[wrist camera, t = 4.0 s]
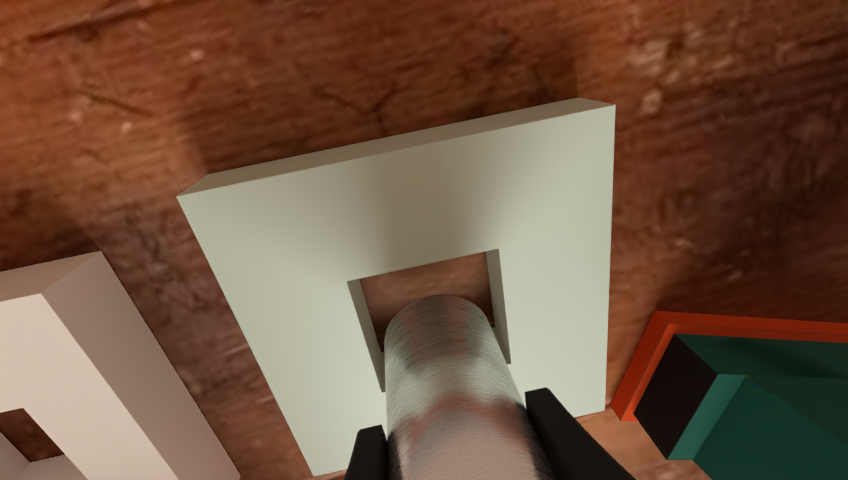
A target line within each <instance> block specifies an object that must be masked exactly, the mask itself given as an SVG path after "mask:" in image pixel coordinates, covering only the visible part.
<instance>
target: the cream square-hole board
mask: <svg viewBox="0 0 848 480" xmlns="http://www.w3.org/2000/svg"><path fill="white" fill-rule="evenodd" d="M19 408H24V410H25V411H26V412H27V413H28V414H29V415H30V416H31V417H32V418H33V419H34V421H35V422H36V423H37V424H38V425H39V426H40V427H41V428H42V429H43V430H44V432H45V433H46V434H47V435H48V436H49V437H50V438H51V439H52V440H53V441H54V443H55V444H56V445H57V446H58V447H59V448H60V449H61V450H62V451H63V452H64V454H65V455H61V456H57V457H52V458H48V459H43V460H39V461H34V462H29V461H28V460H27V459H26V458H25V457H24V456H23V455H22V454H21V453H20V452H19V451H18V450H17V449H16V448H15V447H14V446H13V445H12V444H11V443H10V442H9V441H8V440H7V439H6V437H5V436H4V435H3V434H2V433H1V432H0V480H239V479H240V476H241V475H240V473H239V472H238V470H237V469H236V467H235V465H234V464H233V462H232V461H231V459H230V457H229V456H228V454H227V453H226V451H225V449H224V448H223V446H222V445H221V443H220V441H219V440H218V438H217V436H216V435H215V433H214V432H213V430H212V428H211V427H210V425H209V424H208V422H207V420H206V419H205V417H204V416H203V414H202V412H201V411H200V409H199V408H198V406H197V404H196V403H195V401H194V400H193V398H192V396H191V395H190V393H189V392H188V390H187V388H186V387H185V385H184V383H183V382H182V380H181V379H180V377H179V375H178V374H177V372H176V371H175V369H174V367H173V366H172V364H171V363H170V361H169V359H168V358H167V356H166V355H165V353H164V351H163V350H162V348H161V347H160V345H159V343H158V342H157V340H156V339H155V337H154V335H153V334H152V332H151V330H150V329H149V327H148V326H147V324H146V322H145V321H144V319H143V318H142V316H141V314H140V313H139V311H138V310H137V308H136V306H135V305H134V303H133V302H132V300H131V298H130V297H129V295H128V294H127V292H126V290H125V289H124V287H123V286H122V284H121V282H120V281H119V279H118V278H117V276H116V274H115V273H114V271H113V269H112V268H111V266H110V265H109V263H108V261H107V260H106V258H105V257H104V255H103V253H102V252H101V251H97V252H92V253H87V254H83V255H78V256H73V257H68V258H64V259H59V260H54V261H50V262H45V263H40V264H35V265H31V266H26V267H21V268H16V269H12V270H7V271H2V272H0V413H1V412H6V411H10V410H15V409H19Z"/></svg>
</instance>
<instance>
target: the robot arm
mask: <svg viewBox="0 0 848 480" xmlns="http://www.w3.org/2000/svg"><path fill="white" fill-rule="evenodd" d="M525 402H526V410H527V412H528V415H529V417H530V419H531V422H532V424H533V426H534V429H535V431H536V433H537V436H538V438H539V440H540V443H541V445H542V447H543V450H544V452H545V454H546V457H547V459H548V461H549V464H550V466H551V468H552V471H553V473H554V475H555V478H556V480H636V479H635V478H634V477H633V476H632V475H631V474H630V473H628V472H627V471H626V470H625V469H624V468H623V467H622V466H621V465H620V464H619V463H618V462H617V461H616V460H615V459H614V458H613V457H612V456H611V455H610V454H609V453H608V452H607V451H606V450H605V449H604V448H603V447H602V446H601V445H600V444H599V443H598V442H597V441H596V440H595V439H594V438H593V437H592V436H591V435H590V434H589V433H588V432H587V431H586V430H585V429H584V428H583V427H582V426H581V425H580V424H579V423H578V422H577V420H576V419H575V418H574V417H573V416H572V415H571V414H570V413H569V412H568V411H567V409H566V408H565V407H564V406H563V405H562V404H561V402H560V401H559V400H558V399H557V398H556V397H555V395H554V394H553V393H552V392H551V390H550V389H548V388H546V387H545V388H540V389H536V390H531V391H527V392H525ZM344 480H389V476H388V445H387V439H386V436H385V433H384V430H383V427H382V424H381V425H377V426H372V427H368V428H363V429H360V430H359V431H358V433H357V436H356V440H355V444H354V448H353V452H352V455H351V459H350V462H349V465H348V469H347V472H346V475H345V478H344Z"/></svg>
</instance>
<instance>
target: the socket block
mask: <svg viewBox="0 0 848 480" xmlns="http://www.w3.org/2000/svg"><path fill="white" fill-rule="evenodd" d="M614 134H615V105H614V104H609V103H604V102H599V101H594V100H589V99H584V98H579V97H578V98H573V99H568V100H563V101H558V102H553V103H549V104H544V105H539V106H534V107H529V108H525V109H520V110H515V111H510V112H505V113H501V114H496V115H491V116H486V117H481V118H476V119H472V120H467V121H462V122H457V123H452V124H448V125H443V126H438V127H433V128H428V129H423V130H419V131H414V132H409V133H404V134H399V135H395V136H390V137H385V138H380V139H375V140H371V141H366V142H361V143H356V144H351V145H346V146H342V147H337V148H332V149H327V150H322V151H318V152H313V153H308V154H303V155H298V156H293V157H289V158H284V159H279V160H274V161H269V162H265V163H260V164H255V165H250V166H245V167H241V168H236V169H231V170H226V171H221V172H216V173H212V174H207V175H206V176H204V177H203V178H202V179H200V180H199V181H197V182H196V183H195V184H193V185H192V186H190V187H189V188H187V189H186V190H185V191H183V192H182V193H180V194H179V195H178V196H176V197H177V199H178V201H179V203H180V205H181V207H182V209H183V211H184V213H185V216H186V218H187V220H188V222H189V224H190V226H191V228H192V230H193V232H194V234H195V236H196V238H197V240H198V242H199V244H200V246H201V248H202V250H203V252H204V254H205V256H206V258H207V260H208V262H209V264H210V266H211V268H212V271H213V273H214V275H215V277H216V279H217V281H218V283H219V285H220V287H221V289H222V291H223V293H224V295H225V297H226V299H227V301H228V303H229V305H230V307H231V309H232V311H233V313H234V315H235V317H236V319H237V321H238V323H239V325H240V328H241V330H242V332H243V334H244V336H245V338H246V340H247V342H248V344H249V346H250V348H251V350H252V352H253V354H254V356H255V358H256V360H257V362H258V364H259V366H260V368H261V370H262V372H263V374H264V376H265V378H266V380H267V382H268V385H269V387H270V389H271V391H272V393H273V395H274V397H275V399H276V401H277V403H278V405H279V407H280V409H281V411H282V413H283V415H284V417H285V419H286V421H287V423H288V425H289V427H290V429H291V431H292V433H293V435H294V437H295V440H296V442H297V444H298V446H299V448H300V450H301V452H302V454H303V456H304V458H305V460H306V462H307V464H308V466H309V468H310V470H311V472H312V474H313V476H318V475H323V474H327V473H331V472H336V471H340V470H344V469H348V465H349V462H350V459H351V455H352V452H353V448H354V444H355V440H356V436H357V433H358V431H359V430H360V429H363V428H368V427H372V426H377V425H381V424H382V427H383V430H384V433H385V436H386V439H387V414H386V383H385V352H381V350H380V347H379V344H378V340H377V337H376V334H375V330H374V327H373V324H372V320H371V317H370V314H369V310H368V307H367V304H366V300H365V297H364V294H363V290H362V287H361V284H360V280H359V279H360V278H365V277H369V276H374V275H378V274H383V273H388V272H392V271H397V270H402V269H406V268H411V267H415V266H420V265H425V264H429V263H434V262H439V261H443V260H448V259H453V258H457V257H462V256H466V255H471V254H476V253H480V252H485V251H486V259H487V267H488V275H489V283H490V291H491V299H492V307H493V315H494V323H495V327H492V328H491V329H492V331H493V333H494V336H495V338H496V340H497V343H498V345H499V347H500V350H501V352H502V354H503V357H504V359H505V361H506V364H507V366H508V368H509V371H510V373H511V375H512V378H513V380H514V382H515V385H516V387H517V389H518V392H519V394H520V396H521V399H522V401H523V403H524V406H525V408H526V402H525V392H527V391H531V390H536V389H540V388H545V387H546V388H548V389H550V390H551V392H552V393H553V394H554V395H555V397H556V398H557V399H558V400H559V401H560V402H561V404H562V405H563V406H564V407H565V408H566V409H567V411H568V412H569V413H570V414H571V415H572V416H573V417H578V416H582V415H586V414H591V413H595V412H600V411H604V410H605V389H606V361H607V332H608V304H609V276H610V247H611V219H612V190H613V162H614Z"/></svg>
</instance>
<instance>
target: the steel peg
mask: <svg viewBox="0 0 848 480" xmlns="http://www.w3.org/2000/svg"><path fill="white" fill-rule="evenodd" d="M384 352H385V383H386V414H387V445H388V476H389V480H556V478H555V475H554V473H553V471H552V468H551V466H550V464H549V461H548V459H547V457H546V454H545V452H544V450H543V447H542V445H541V443H540V440H539V438H538V436H537V433H536V431H535V429H534V426H533V424H532V422H531V419H530V417H529V415H528V412H527V410H526V408H525V406H524V403H523V401H522V399H521V396H520V394H519V392H518V389H517V387H516V385H515V382H514V380H513V378H512V375H511V373H510V371H509V368H508V366H507V364H506V361H505V359H504V357H503V354H502V352H501V350H500V347H499V345H498V343H497V340H496V338H495V336H494V333H493V331H492V329H491V326H490V324H489V322H488V319H487V317H486V316H485V314H484V313H483V312H482V310H481V309H480V308H479V307H477V306H476V305H475V304H473V303H472V302H470V301H468V300H466V299H464V298H461V297H457V296H452V295H434V296H428V297H425V298H421V299H419V300H416V301H414V302H412V303H410V304H408V305H407V306H405V307H404V308H403V309H401V310H400V311H399V312H398V313H397V314H396V315H395V316H394V318H393V319H392V320H391V322H390V323H389V325H388V327H387V330H386V333H385V338H384Z"/></svg>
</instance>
